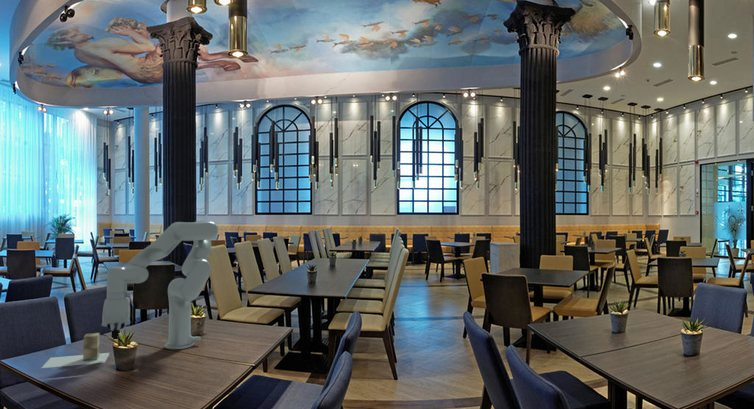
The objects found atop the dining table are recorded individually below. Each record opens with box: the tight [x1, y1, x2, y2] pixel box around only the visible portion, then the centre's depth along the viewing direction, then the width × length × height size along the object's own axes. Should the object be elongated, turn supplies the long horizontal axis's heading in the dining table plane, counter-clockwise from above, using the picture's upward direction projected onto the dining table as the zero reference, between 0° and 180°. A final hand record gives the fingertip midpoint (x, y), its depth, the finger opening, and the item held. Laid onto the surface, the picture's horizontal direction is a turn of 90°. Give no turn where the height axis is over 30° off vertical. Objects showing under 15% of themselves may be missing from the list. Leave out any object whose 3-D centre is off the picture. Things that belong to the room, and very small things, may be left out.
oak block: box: [82, 332, 101, 361], centre depth 201 cm, size 5×5×10 cm
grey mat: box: [41, 352, 110, 369], centre depth 199 cm, size 22×14×1 cm, turn 112°
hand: (115, 339), depth 204 cm, fingers closed
